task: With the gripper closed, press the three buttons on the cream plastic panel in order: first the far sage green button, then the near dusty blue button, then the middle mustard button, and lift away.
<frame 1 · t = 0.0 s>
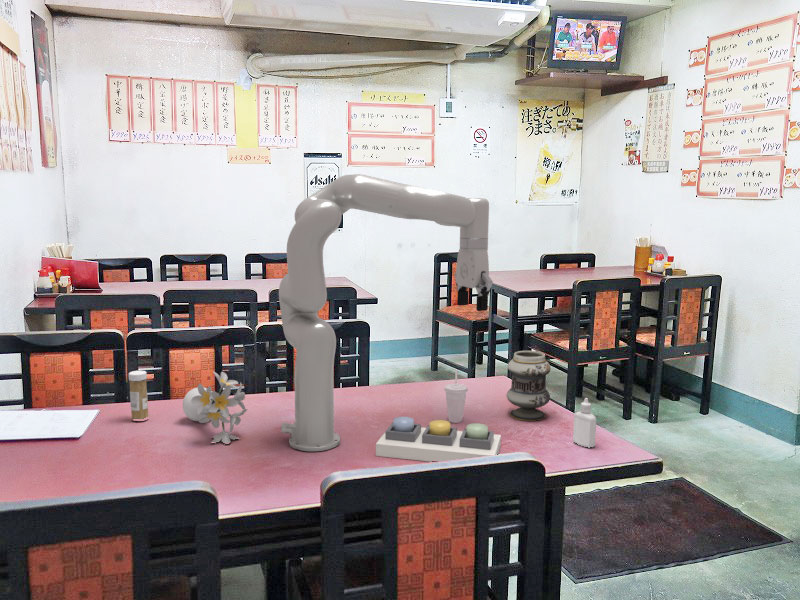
hand: (472, 307, 179), 31 cm above the table, tool pointing down, fingers open, 9 cm apart
mustard button: (439, 428, 159), point 6 cm above the table, slide at 0.0 cm
smoothie: (455, 421, 182), on the table
sprinkles bottle: (140, 420, 180), on the table
button panel: (439, 451, 160), on the table
eye dropper bottle: (583, 445, 165), on the table
sage button: (477, 431, 157), point 6 cm above the table, slide at 0.0 cm
flower vase: (212, 431, 173), on the table
apothecary jar: (527, 416, 187), on the table
blue button: (403, 424, 161), point 6 cm above the table, slide at 0.0 cm
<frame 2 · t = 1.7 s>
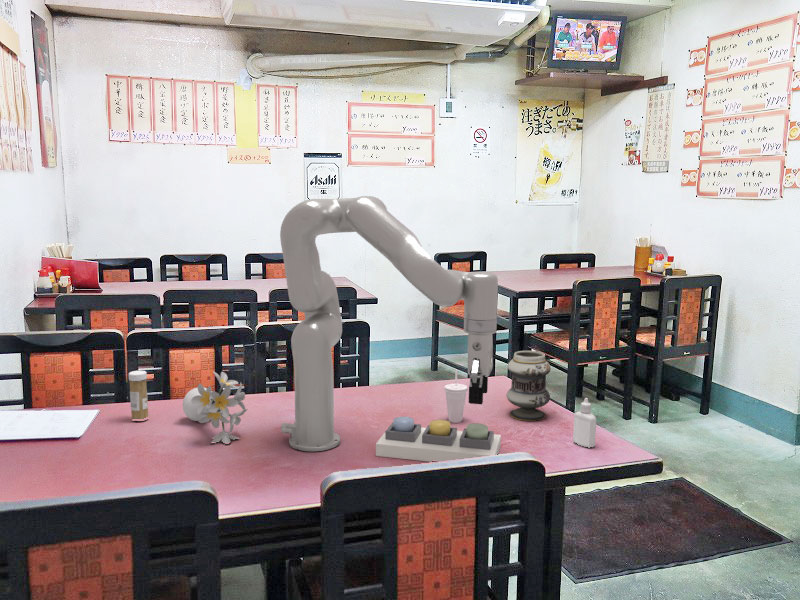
hand: (478, 397, 156), 14 cm above the table, tool pointing down, fingers open, 8 cm apart
nothing on the table moved.
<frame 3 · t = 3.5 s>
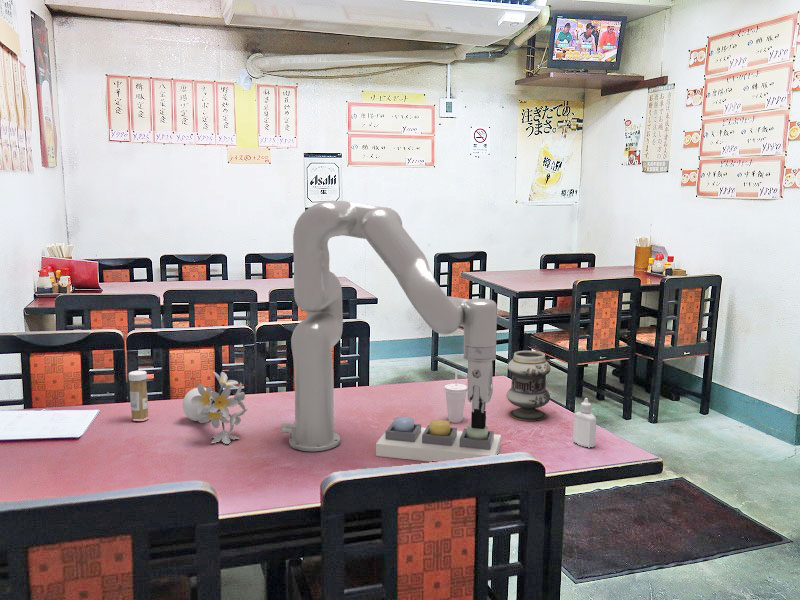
hand: (478, 427, 157), 7 cm above the table, tool pointing down, fingers closed
sage button: (477, 432, 157), point 6 cm above the table, slide at 0.1 cm, touching gripper
everything else where it was.
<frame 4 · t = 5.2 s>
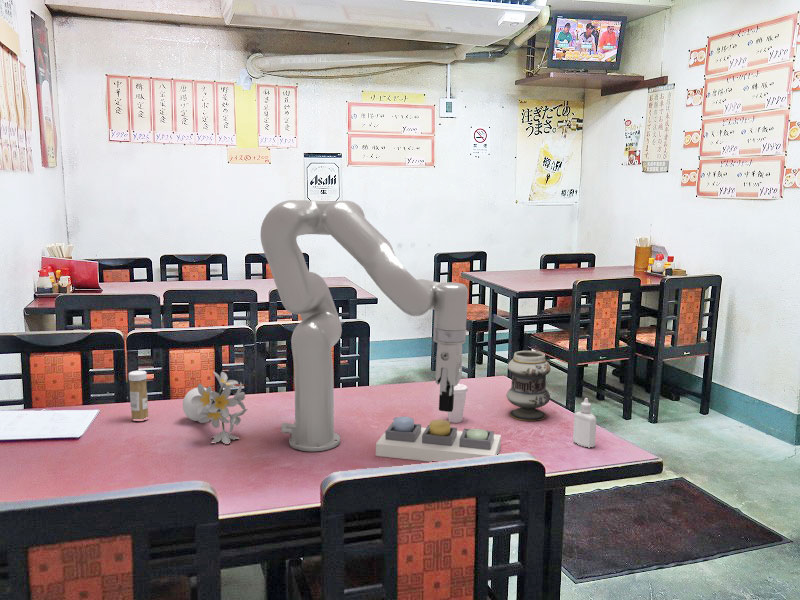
hand: (445, 410, 158), 10 cm above the table, tool pointing down, fingers closed
sage button: (476, 437, 157), point 4 cm above the table, slide at 1.4 cm
everything else where it was.
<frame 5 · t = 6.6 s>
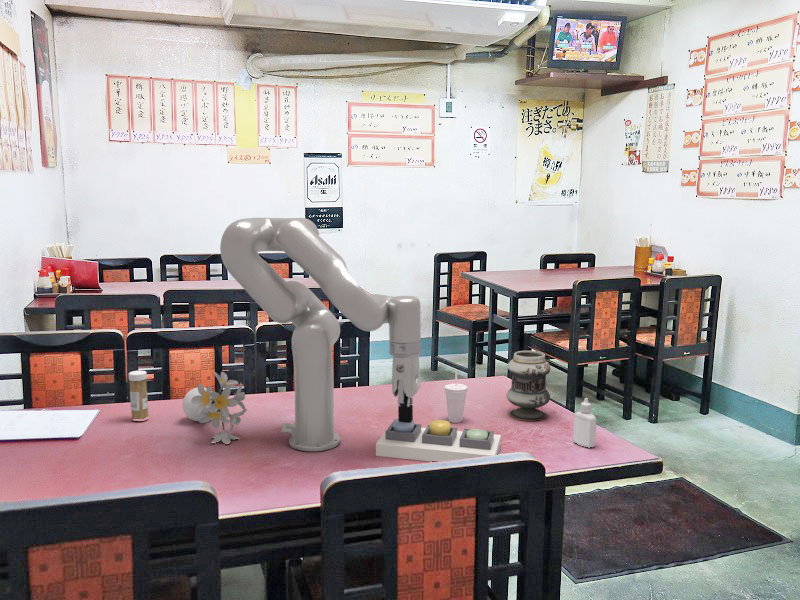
hand: (405, 421, 161), 7 cm above the table, tool pointing down, fingers closed
blue button: (403, 425, 162), point 5 cm above the table, slide at 0.3 cm, touching gripper
everything else where it was.
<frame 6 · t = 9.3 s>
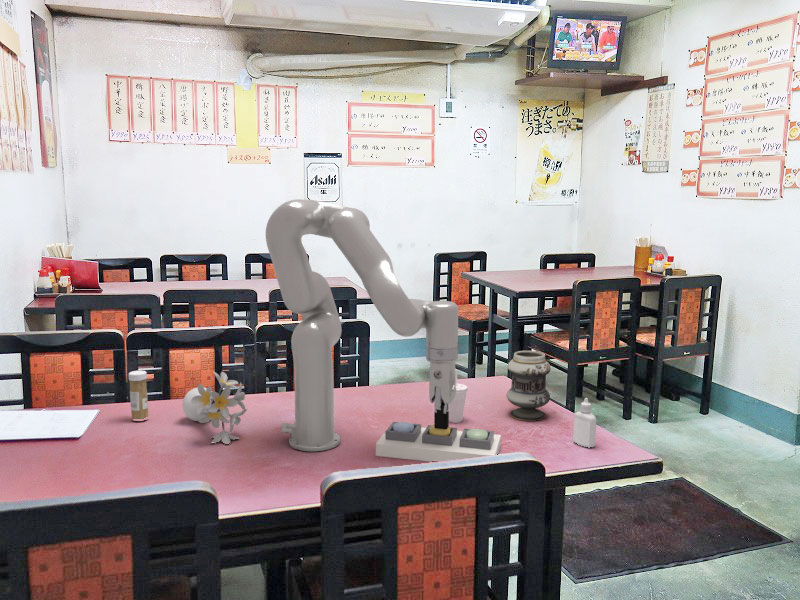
hand: (441, 427, 159), 6 cm above the table, tool pointing down, fingers closed
mustard button: (439, 432, 159), point 5 cm above the table, slide at 1.1 cm, touching gripper
blue button: (403, 430, 162), point 4 cm above the table, slide at 1.4 cm
everything else where it was.
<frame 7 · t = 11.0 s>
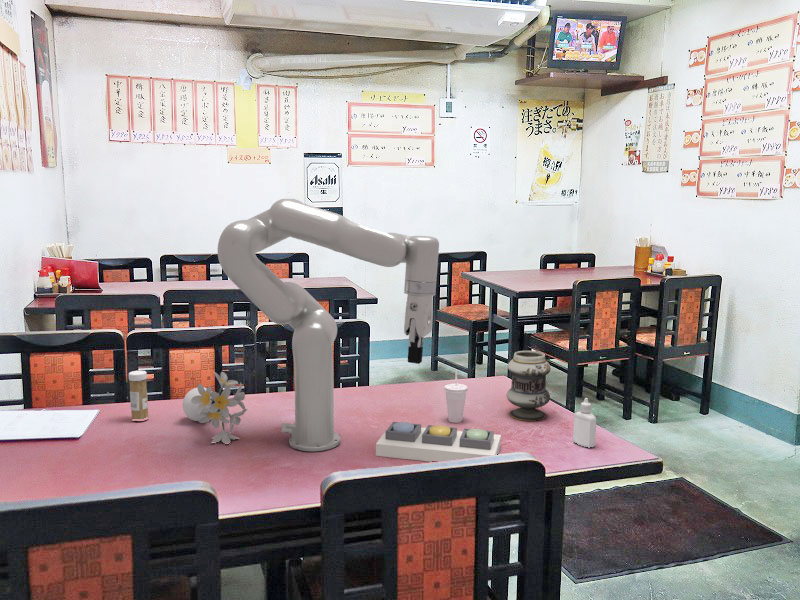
hand: (414, 362, 161), 21 cm above the table, tool pointing down, fingers closed
mustard button: (439, 433, 160), point 4 cm above the table, slide at 1.4 cm
everything else where it was.
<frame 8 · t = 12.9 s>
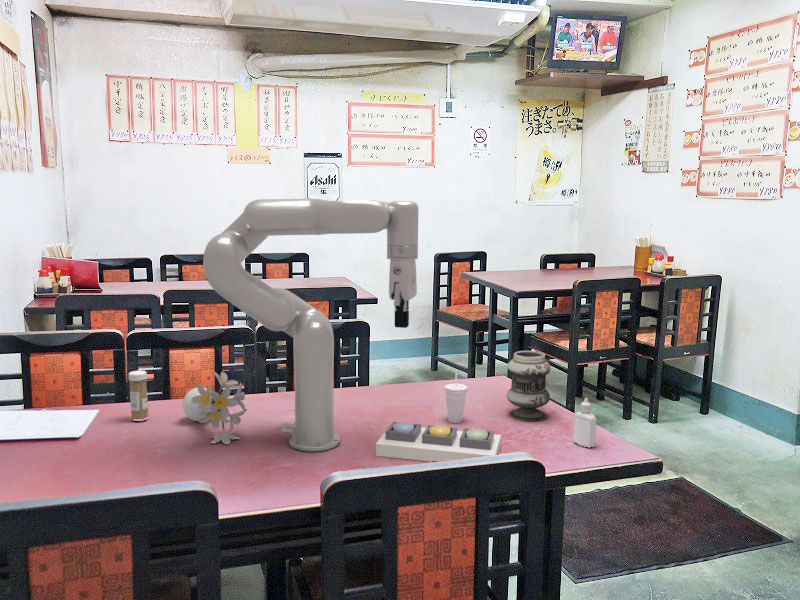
hand: (401, 326, 163), 29 cm above the table, tool pointing down, fingers closed
nothing on the table moved.
at the end: sage button slide at 1.4 cm; blue button slide at 1.4 cm; mustard button slide at 1.4 cm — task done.
